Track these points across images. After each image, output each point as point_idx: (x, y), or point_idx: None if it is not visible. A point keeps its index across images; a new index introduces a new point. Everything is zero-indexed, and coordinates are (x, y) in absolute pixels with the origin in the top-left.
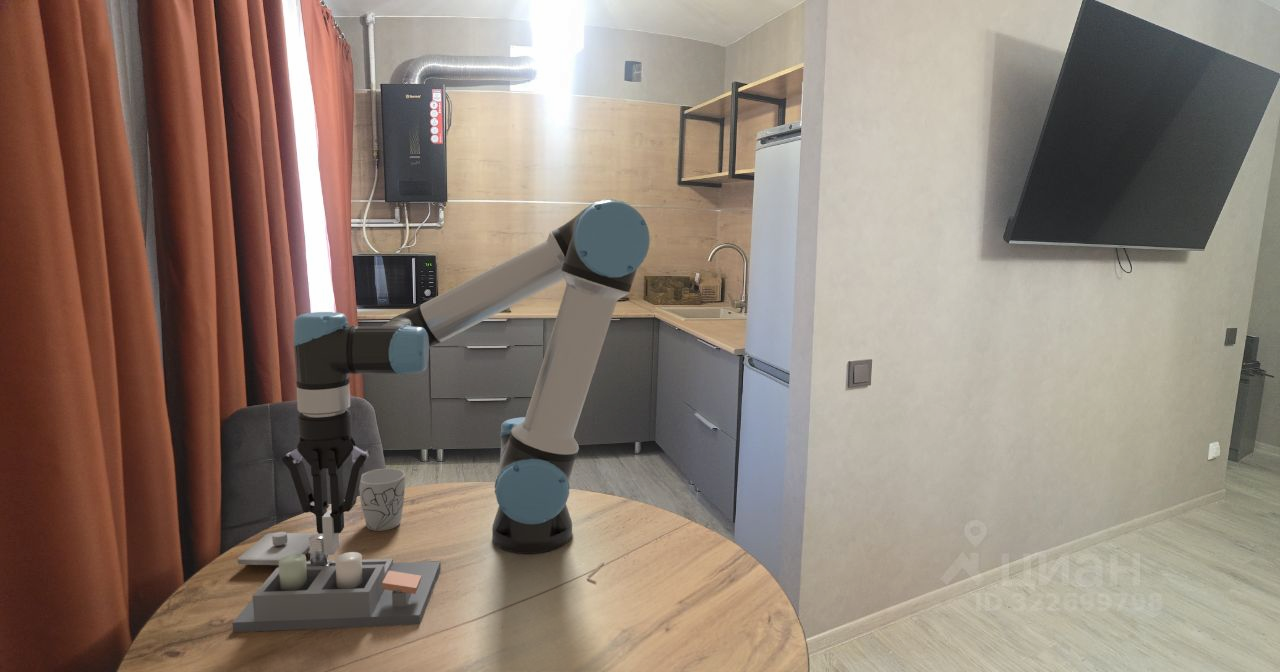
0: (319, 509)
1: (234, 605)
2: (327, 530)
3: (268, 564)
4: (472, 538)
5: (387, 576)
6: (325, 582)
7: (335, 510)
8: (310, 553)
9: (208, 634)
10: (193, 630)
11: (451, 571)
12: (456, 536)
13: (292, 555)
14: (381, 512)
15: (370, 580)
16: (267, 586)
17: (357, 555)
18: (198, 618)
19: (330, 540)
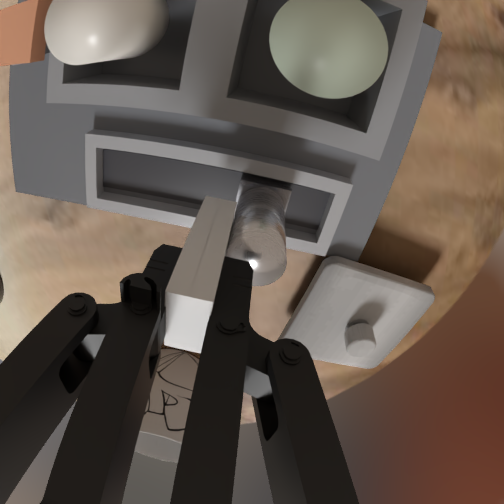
0: (219, 339)
1: (439, 149)
2: (203, 250)
3: (382, 271)
4: (21, 278)
5: (30, 31)
6: (199, 2)
7: (134, 311)
8: (282, 222)
9: (471, 52)
10: (494, 85)
11: (10, 173)
12: (45, 292)
13: (335, 84)
14: (162, 377)
15: None
16: (396, 38)
17: (57, 37)
18: (490, 128)
19: (202, 223)
